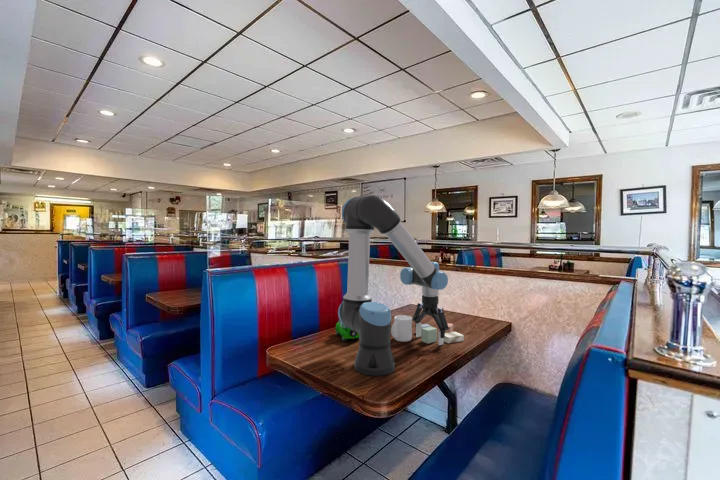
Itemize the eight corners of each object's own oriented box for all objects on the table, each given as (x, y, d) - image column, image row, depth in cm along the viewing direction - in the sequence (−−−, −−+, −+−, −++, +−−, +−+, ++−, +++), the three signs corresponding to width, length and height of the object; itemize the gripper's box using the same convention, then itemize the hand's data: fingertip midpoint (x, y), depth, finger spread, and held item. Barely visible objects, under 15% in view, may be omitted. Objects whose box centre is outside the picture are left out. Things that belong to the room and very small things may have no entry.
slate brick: (420, 335, 169) (421, 327, 169) (416, 332, 173) (416, 325, 173) (431, 333, 171) (431, 325, 171) (426, 331, 175) (426, 323, 175)
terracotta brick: (450, 334, 170) (450, 326, 170) (442, 333, 172) (442, 325, 172) (453, 331, 176) (453, 323, 175) (445, 330, 177) (445, 322, 177)
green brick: (428, 343, 156) (428, 330, 156) (421, 341, 160) (421, 328, 159) (436, 341, 160) (437, 328, 160) (430, 338, 163) (430, 326, 163)
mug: (397, 344, 154) (398, 322, 154) (384, 340, 160) (385, 318, 160) (415, 339, 162) (415, 317, 162) (402, 335, 168) (402, 314, 168)
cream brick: (448, 344, 157) (448, 337, 157) (440, 340, 163) (440, 333, 163) (463, 341, 161) (463, 335, 161) (455, 337, 166) (455, 331, 166)
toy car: (350, 332, 173) (350, 312, 172) (362, 343, 156) (362, 321, 156) (334, 333, 170) (334, 313, 169) (344, 345, 153) (345, 322, 153)
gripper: (457, 298, 151) (456, 346, 152) (416, 290, 171) (415, 332, 172) (446, 300, 147) (445, 350, 148) (405, 291, 167) (404, 335, 168)
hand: (429, 340), depth 160 cm, fingers open, 13 cm apart
